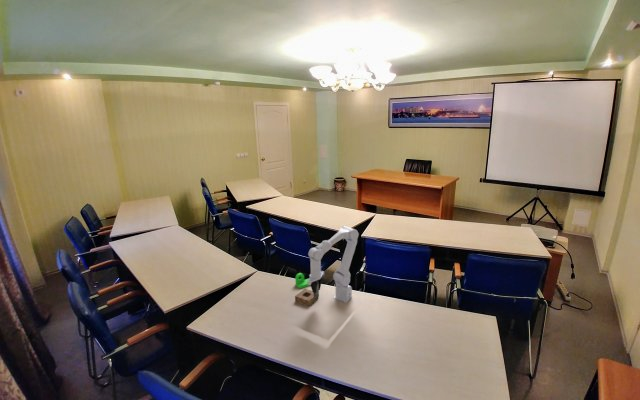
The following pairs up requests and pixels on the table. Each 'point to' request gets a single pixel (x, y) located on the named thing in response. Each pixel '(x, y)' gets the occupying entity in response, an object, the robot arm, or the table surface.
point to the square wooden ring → (305, 297)
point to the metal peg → (317, 290)
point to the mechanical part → (301, 281)
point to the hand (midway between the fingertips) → (316, 291)
